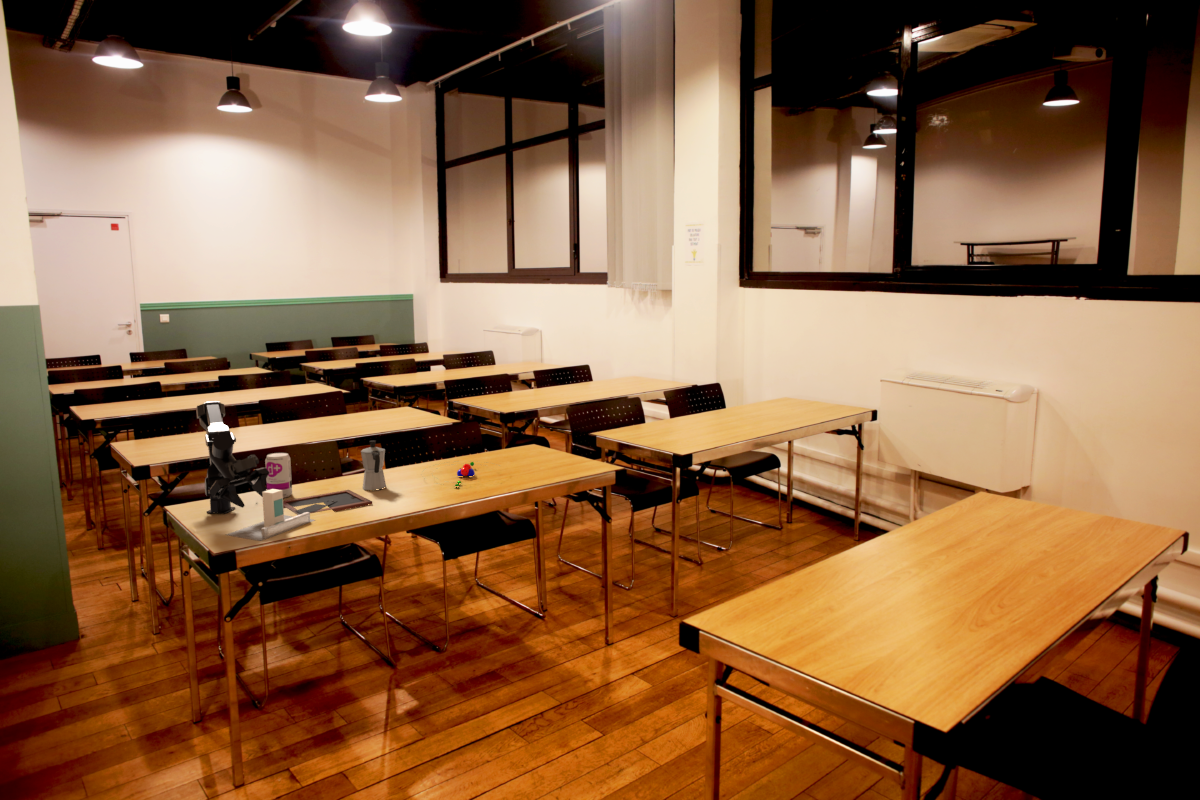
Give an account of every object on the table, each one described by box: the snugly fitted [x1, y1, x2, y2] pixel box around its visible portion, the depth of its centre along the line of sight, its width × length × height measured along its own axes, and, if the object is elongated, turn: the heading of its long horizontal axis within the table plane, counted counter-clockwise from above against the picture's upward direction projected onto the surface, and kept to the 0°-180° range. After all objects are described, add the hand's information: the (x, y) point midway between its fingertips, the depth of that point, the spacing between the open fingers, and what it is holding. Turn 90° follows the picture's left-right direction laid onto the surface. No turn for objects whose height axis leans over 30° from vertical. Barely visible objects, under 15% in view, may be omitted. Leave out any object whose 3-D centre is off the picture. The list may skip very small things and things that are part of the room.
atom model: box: [421, 460, 501, 487], centre depth 299 cm, size 35×34×6 cm
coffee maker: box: [360, 440, 387, 491], centre depth 281 cm, size 15×9×18 cm, turn 27°
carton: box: [262, 489, 285, 527], centre depth 232 cm, size 4×4×12 cm
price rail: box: [261, 512, 311, 540], centre depth 230 cm, size 1×18×3 cm, turn 157°
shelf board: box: [225, 514, 316, 542], centre depth 233 cm, size 14×22×1 cm, turn 157°
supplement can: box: [264, 452, 293, 499], centre depth 270 cm, size 8×8×15 cm
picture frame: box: [283, 489, 373, 516], centre depth 261 cm, size 20×2×25 cm
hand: (255, 502), depth 234 cm, fingers open, 9 cm apart
